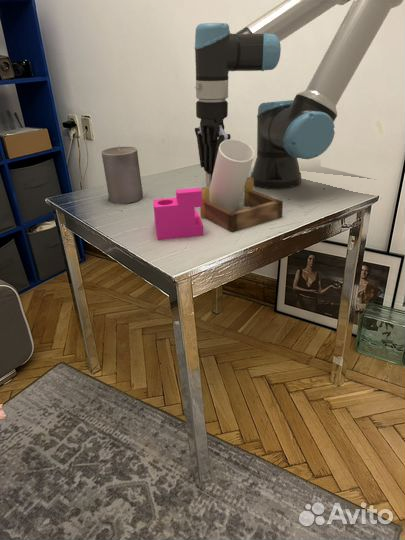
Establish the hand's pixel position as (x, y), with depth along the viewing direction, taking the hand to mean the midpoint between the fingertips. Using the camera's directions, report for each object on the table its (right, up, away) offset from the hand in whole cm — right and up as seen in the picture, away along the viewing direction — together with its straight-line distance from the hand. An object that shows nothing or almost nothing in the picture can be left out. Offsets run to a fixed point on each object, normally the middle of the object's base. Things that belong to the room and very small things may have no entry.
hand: (211, 196), depth 106 cm
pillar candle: (-24, +1, +9) cm, 26 cm away
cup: (+3, -2, -3) cm, 4 cm away
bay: (+7, -6, -7) cm, 12 cm away
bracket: (-8, -10, -12) cm, 17 cm away
